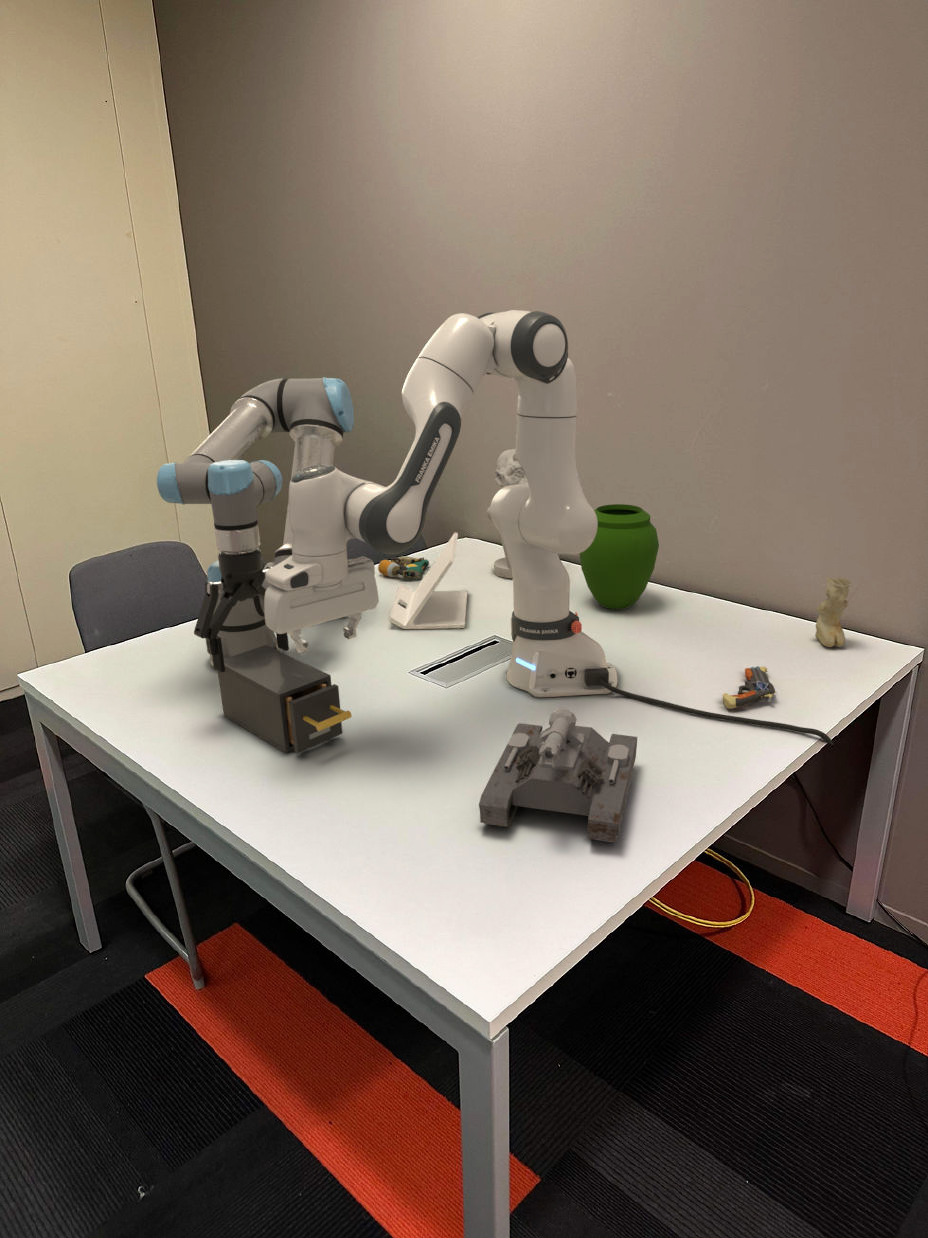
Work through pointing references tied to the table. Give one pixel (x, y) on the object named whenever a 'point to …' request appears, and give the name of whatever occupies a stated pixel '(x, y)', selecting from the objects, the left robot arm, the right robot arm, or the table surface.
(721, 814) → the table surface
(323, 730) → the drawer
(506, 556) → the bust sculpture
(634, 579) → the vase
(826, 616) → the sculpture
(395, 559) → the spray gun
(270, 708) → the cabinet
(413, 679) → the table surface
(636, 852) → the table surface
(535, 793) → the toy
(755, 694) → the toy gun
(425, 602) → the tablet stand
